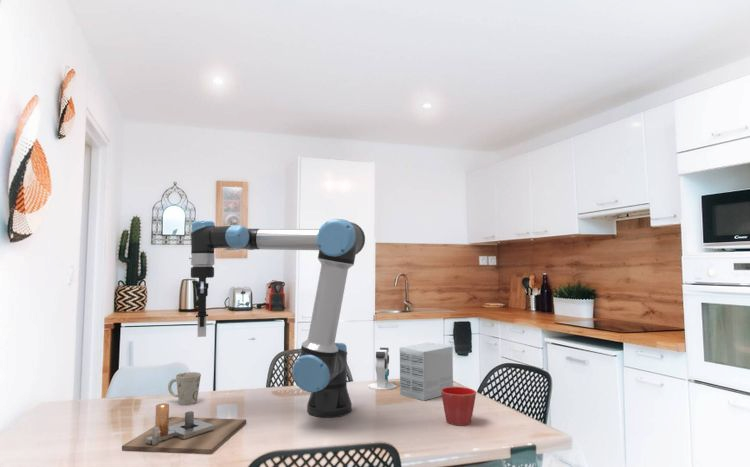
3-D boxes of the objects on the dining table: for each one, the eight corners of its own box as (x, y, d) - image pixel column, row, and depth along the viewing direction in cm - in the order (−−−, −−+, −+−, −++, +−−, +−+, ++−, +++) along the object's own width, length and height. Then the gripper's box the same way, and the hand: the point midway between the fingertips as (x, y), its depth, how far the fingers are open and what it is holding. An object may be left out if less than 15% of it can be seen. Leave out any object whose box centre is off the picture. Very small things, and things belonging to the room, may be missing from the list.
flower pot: (454, 414, 161) (454, 384, 162) (482, 421, 154) (482, 390, 154) (434, 421, 154) (434, 390, 155) (463, 429, 146) (462, 396, 147)
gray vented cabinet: (428, 386, 198) (427, 342, 200) (454, 393, 189) (453, 346, 190) (398, 394, 187) (398, 346, 188) (424, 401, 177) (424, 351, 178)
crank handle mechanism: (194, 422, 148) (194, 392, 149) (214, 429, 142) (215, 397, 143) (137, 439, 134) (139, 405, 134) (157, 447, 128) (159, 411, 129)
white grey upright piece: (393, 391, 191) (393, 352, 192) (365, 389, 193) (365, 351, 194) (397, 383, 203) (397, 347, 204) (371, 382, 205) (371, 346, 206)
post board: (246, 423, 152) (246, 401, 153) (211, 454, 127) (212, 428, 128) (170, 420, 155) (170, 399, 155) (121, 450, 130) (122, 425, 130)
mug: (191, 406, 170) (192, 377, 171) (159, 404, 173) (160, 376, 173) (204, 400, 178) (205, 372, 179) (174, 398, 181) (174, 371, 182)
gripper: (191, 266, 170) (190, 334, 168) (189, 266, 157) (189, 339, 156) (214, 266, 172) (213, 333, 170) (214, 265, 160) (213, 338, 158)
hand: (201, 336), depth 163 cm, fingers closed
